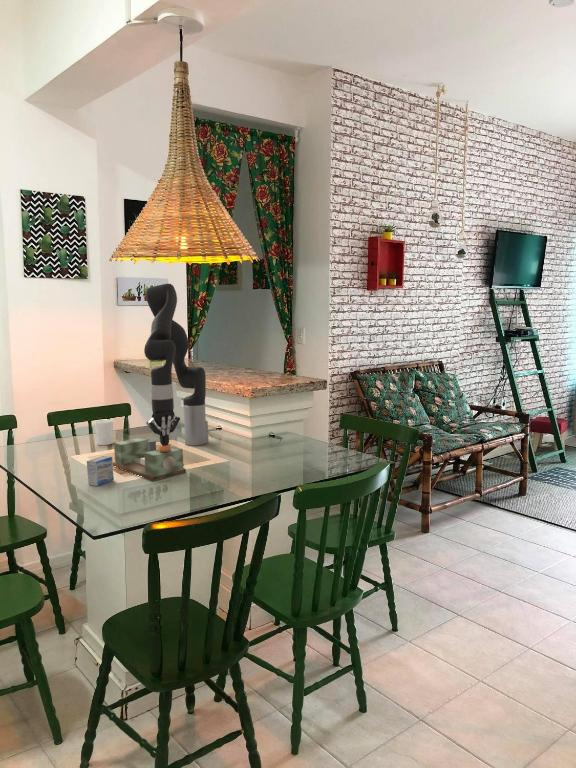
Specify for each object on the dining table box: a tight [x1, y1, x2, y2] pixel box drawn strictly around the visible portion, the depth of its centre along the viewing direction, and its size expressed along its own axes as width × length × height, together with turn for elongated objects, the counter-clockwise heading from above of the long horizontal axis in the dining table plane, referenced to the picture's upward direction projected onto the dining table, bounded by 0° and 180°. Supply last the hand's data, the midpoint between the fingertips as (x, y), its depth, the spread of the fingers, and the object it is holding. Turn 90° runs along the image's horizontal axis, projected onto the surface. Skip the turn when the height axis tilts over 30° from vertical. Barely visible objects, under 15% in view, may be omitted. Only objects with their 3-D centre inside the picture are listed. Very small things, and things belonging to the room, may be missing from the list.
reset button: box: [158, 443, 172, 452], centre depth 225 cm, size 4×4×2 cm
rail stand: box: [113, 437, 187, 482], centre depth 235 cm, size 14×28×9 cm, turn 43°
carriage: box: [140, 439, 157, 465], centre depth 231 cm, size 8×6×9 cm
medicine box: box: [86, 455, 115, 487], centre depth 220 cm, size 8×4×9 cm, turn 151°
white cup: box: [94, 419, 114, 446], centre depth 278 cm, size 8×8×10 cm
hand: (164, 445), depth 225 cm, fingers closed
